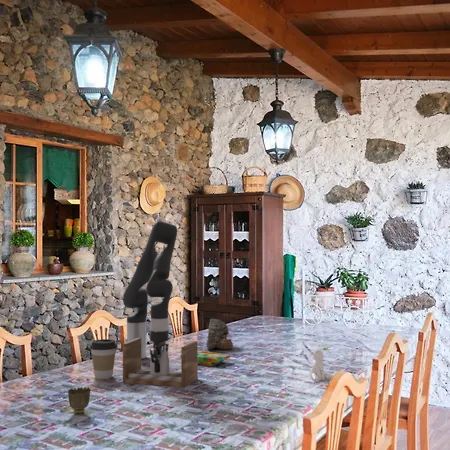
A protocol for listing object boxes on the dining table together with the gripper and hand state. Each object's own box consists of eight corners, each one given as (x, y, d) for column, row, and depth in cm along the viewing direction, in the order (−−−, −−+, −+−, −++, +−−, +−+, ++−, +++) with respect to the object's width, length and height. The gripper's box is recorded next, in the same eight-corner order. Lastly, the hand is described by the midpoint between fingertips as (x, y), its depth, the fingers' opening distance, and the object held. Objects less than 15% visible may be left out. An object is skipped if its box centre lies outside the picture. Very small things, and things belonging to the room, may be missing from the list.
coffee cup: (122, 375, 258) (122, 339, 258) (108, 381, 247) (108, 344, 247) (98, 373, 262) (98, 338, 262) (84, 379, 251) (84, 342, 251)
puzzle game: (195, 348, 293) (230, 353, 282) (195, 358, 293) (230, 363, 282) (180, 352, 283) (216, 357, 272) (180, 363, 283) (216, 368, 272)
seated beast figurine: (315, 382, 245) (315, 353, 245) (302, 378, 253) (302, 349, 253) (334, 380, 249) (333, 350, 249) (321, 375, 257) (321, 347, 257)
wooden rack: (122, 382, 246) (122, 343, 246) (138, 374, 260) (138, 337, 260) (184, 387, 238) (184, 347, 238) (197, 378, 251) (197, 341, 251)
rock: (201, 314, 320) (229, 310, 317) (210, 331, 329) (236, 327, 326) (198, 342, 307) (227, 338, 303) (207, 359, 316) (235, 355, 312)
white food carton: (165, 377, 245) (165, 352, 245) (150, 375, 247) (150, 351, 247) (169, 374, 249) (169, 350, 249) (154, 373, 251) (154, 349, 251)
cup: (69, 410, 208) (69, 386, 208) (91, 409, 209) (91, 386, 209) (66, 416, 201) (66, 392, 201) (88, 416, 201) (88, 392, 201)
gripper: (158, 325, 256) (158, 366, 256) (143, 331, 242) (143, 374, 242) (174, 326, 254) (174, 368, 254) (160, 332, 240) (160, 376, 240)
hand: (159, 371), depth 248 cm, fingers closed on white food carton, 3 cm apart
